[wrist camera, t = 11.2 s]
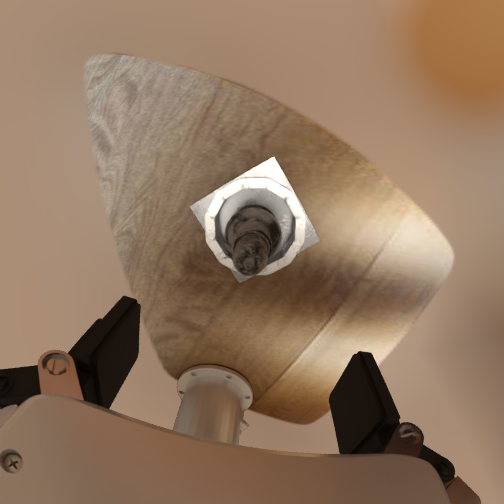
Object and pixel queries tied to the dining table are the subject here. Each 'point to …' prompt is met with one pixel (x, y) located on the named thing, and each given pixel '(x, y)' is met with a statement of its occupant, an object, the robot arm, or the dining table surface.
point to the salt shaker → (252, 238)
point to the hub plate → (264, 194)
